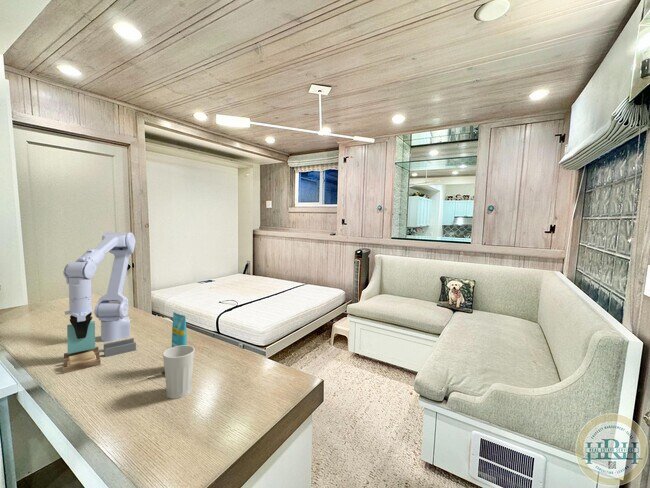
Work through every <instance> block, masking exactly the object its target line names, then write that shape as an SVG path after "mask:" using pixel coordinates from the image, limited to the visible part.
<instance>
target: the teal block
mask: <svg viewBox="0 0 650 488" xmlns="http://www.w3.org/2000/svg"><path fill="white" fill-rule="evenodd" d="M66 327H67V328H66V331H67V332H66V333H67V334H66V335H67V336H66V337H67V353H68V354H70V353H75V352H80V351H85V350H90V349H95V347H96V321H95V320H91V321H90V323H89V326H88V330H87V335H86V338H81V339H77V336H76V333H75V329H74V327H73V325H72V324H71V323H70V324H67V326H66Z"/></svg>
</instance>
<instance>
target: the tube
mask: <svg viewBox="0 0 650 488" xmlns="http://www.w3.org/2000/svg"><path fill="white" fill-rule="evenodd" d="M171 326H172V327H171V329H172V330H171V348H172V347H175V346H181V345H188V337H187V320H186V315H185V314H184V315H183V314H179V313H177V312H175V311H172V325H171Z"/></svg>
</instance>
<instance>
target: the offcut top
mask: <svg viewBox="0 0 650 488" xmlns="http://www.w3.org/2000/svg"><path fill="white" fill-rule="evenodd" d="M91 359H95V353H94V352H93V351H90V352H86V353H82V354H78V355H74V356H70V357H69V363H70V365H72V364H76V363H79V362H83V361H87V360H91Z"/></svg>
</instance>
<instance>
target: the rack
mask: <svg viewBox="0 0 650 488" xmlns="http://www.w3.org/2000/svg"><path fill="white" fill-rule="evenodd" d="M90 351H93V352H94V353H95V355H96V360H95V361H91V362H87V363H82V364H78V365H74V366H69V367H67V363H68V361H69V357H70V356H74V355H78V354H82V353H86V352H90ZM62 361H63V368H62V375H64V374H67V373H73V372H76V371H80V370H81V371H82V370H85V369H88V368H89V369H90V368H94V367H98V366H101V358H100V351H99V346H95V349H90V350H85V351H80V352H75V353H70V354H68V352H65V353H63V360H62Z"/></svg>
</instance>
